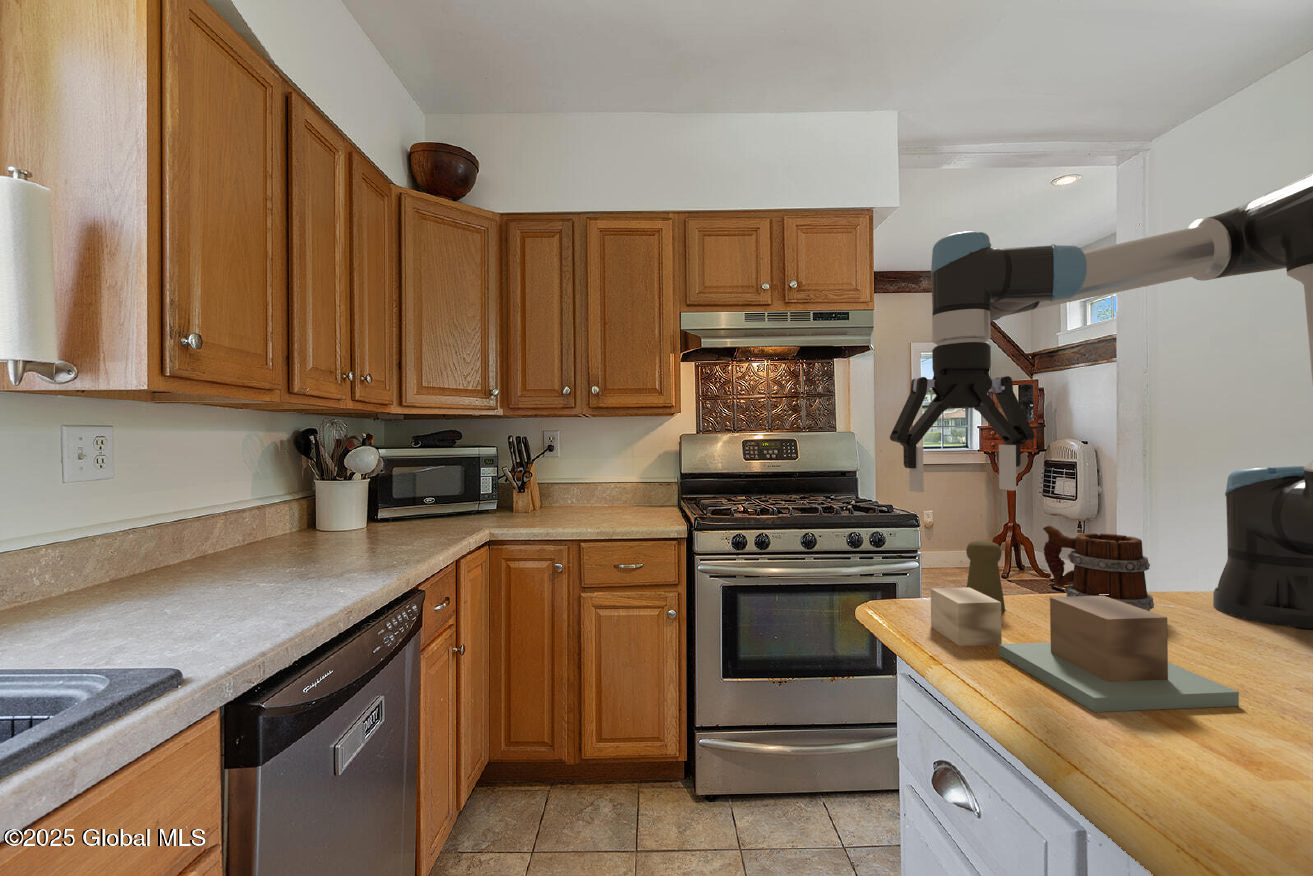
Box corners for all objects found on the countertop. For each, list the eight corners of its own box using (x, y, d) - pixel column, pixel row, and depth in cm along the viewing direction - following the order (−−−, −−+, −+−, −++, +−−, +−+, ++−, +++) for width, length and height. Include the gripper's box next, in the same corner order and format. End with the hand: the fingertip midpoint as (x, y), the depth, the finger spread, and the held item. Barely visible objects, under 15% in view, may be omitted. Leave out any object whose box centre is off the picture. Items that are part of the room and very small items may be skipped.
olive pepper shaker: (982, 613, 96) (981, 545, 96) (956, 603, 102) (955, 539, 102) (1014, 610, 98) (1013, 543, 98) (986, 600, 104) (985, 537, 103)
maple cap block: (970, 626, 90) (969, 587, 90) (1001, 645, 82) (1001, 602, 82) (931, 627, 90) (930, 588, 90) (958, 646, 82) (958, 603, 82)
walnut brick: (1104, 650, 76) (1103, 595, 76) (1168, 679, 67) (1167, 617, 67) (1050, 652, 75) (1049, 597, 75) (1107, 681, 66) (1106, 619, 66)
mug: (1156, 624, 89) (1132, 524, 90) (1047, 620, 99) (1028, 530, 101) (1168, 608, 97) (1146, 516, 98) (1066, 606, 107) (1048, 522, 109)
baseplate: (1115, 651, 79) (1115, 640, 79) (1238, 706, 63) (1238, 692, 63) (999, 655, 78) (999, 644, 78) (1094, 712, 62) (1094, 697, 62)
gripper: (1026, 347, 90) (1027, 486, 91) (865, 348, 89) (867, 489, 89) (1062, 339, 83) (1064, 491, 83) (887, 340, 82) (889, 494, 82)
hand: (962, 490), depth 86 cm, fingers open, 13 cm apart
